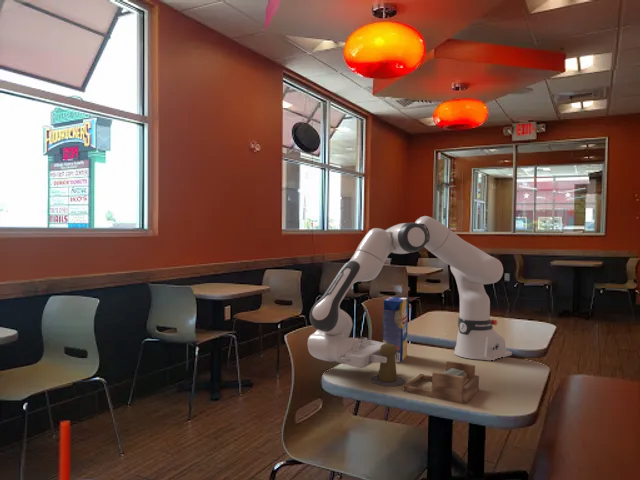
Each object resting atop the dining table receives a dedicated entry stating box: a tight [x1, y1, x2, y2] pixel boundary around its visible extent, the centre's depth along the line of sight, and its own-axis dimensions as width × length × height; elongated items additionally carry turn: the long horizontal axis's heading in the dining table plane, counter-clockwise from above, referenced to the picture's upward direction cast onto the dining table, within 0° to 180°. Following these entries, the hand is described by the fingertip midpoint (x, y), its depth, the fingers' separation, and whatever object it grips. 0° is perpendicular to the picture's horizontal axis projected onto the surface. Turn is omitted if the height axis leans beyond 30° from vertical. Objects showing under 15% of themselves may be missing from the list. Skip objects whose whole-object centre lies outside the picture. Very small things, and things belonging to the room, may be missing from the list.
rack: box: [403, 360, 480, 405], centre depth 145 cm, size 18×15×7 cm
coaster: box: [370, 374, 406, 387], centre depth 154 cm, size 11×11×1 cm
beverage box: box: [382, 296, 409, 363], centre depth 181 cm, size 7×11×22 cm, turn 159°
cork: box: [378, 344, 398, 382], centre depth 154 cm, size 6×6×11 cm
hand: (390, 358), depth 153 cm, fingers closed on cork, 4 cm apart
